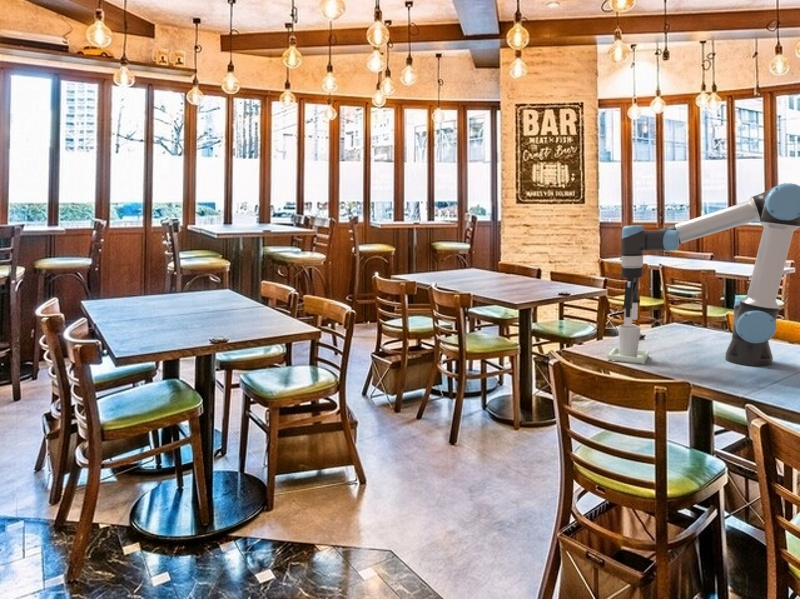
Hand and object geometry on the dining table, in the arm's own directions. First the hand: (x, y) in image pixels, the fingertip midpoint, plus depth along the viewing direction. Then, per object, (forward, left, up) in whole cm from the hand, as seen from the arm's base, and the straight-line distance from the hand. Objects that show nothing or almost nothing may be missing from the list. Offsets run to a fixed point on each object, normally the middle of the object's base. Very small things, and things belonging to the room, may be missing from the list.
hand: (630, 322), depth 219 cm
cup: (0, 0, -14) cm, 14 cm away
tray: (0, 0, -14) cm, 14 cm away
